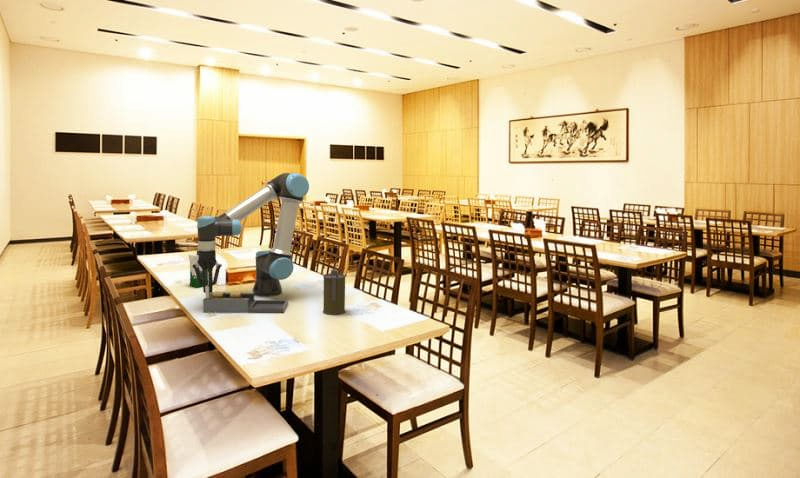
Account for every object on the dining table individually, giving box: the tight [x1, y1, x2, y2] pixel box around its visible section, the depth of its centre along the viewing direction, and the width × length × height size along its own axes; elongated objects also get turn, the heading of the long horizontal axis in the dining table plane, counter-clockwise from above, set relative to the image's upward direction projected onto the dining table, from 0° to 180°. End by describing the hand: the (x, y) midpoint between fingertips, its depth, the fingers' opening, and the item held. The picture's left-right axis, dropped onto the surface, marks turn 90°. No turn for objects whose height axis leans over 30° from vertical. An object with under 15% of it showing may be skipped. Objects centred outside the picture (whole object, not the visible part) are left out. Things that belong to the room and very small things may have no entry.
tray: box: [247, 299, 289, 314], centre depth 237 cm, size 16×15×2 cm
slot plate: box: [202, 291, 256, 314], centre depth 235 cm, size 20×14×6 cm
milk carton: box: [187, 250, 209, 289], centre depth 277 cm, size 9×9×20 cm
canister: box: [322, 268, 347, 316], centre depth 233 cm, size 11×10×20 cm
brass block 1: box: [212, 291, 226, 298], centre depth 235 cm, size 4×4×4 cm
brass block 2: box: [230, 291, 243, 298], centre depth 235 cm, size 4×4×4 cm
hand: (208, 299), depth 235 cm, fingers closed
